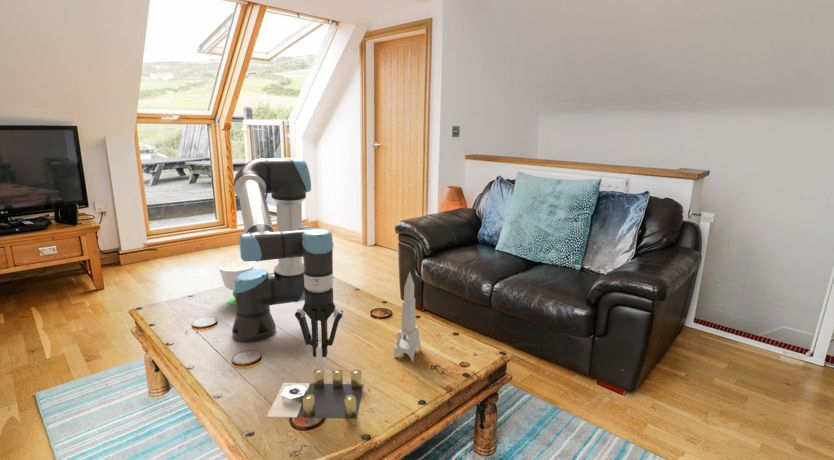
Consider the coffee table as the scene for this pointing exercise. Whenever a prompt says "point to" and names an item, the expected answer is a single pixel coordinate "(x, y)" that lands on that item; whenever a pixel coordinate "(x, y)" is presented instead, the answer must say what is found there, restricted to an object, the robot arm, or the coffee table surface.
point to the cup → (233, 274)
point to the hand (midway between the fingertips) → (320, 366)
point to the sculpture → (408, 323)
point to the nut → (293, 395)
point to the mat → (317, 402)
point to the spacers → (337, 384)
